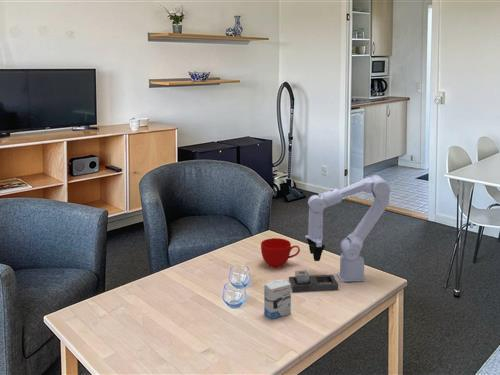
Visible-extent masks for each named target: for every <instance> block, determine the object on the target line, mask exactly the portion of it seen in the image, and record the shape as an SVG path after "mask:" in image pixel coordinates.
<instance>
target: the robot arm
mask: <svg viewBox="0 0 500 375" xmlns="http://www.w3.org/2000/svg"><path fill="white" fill-rule="evenodd" d="M361 192H363V193H367V194H372V197H373V198H372V199H373V202H372V204H371V206H370V207H369V208H368V210H367V211H366V213H365V214H364V216H363V217H362V218H361V219H360V222H359V223H358V224H357V226H356V227H355V229H354V231H352V232H351V233H349V234H348V235H347V237H345V238H344V239H342V240H341V241H340V243H339V248H340V250H341V251H342V252H341V254H340V258H339V259H340V260H339V272H336V275H337V277H338V278H339V280H340V281H341V283H345V282H364V281H365V260H364V257H363V256H360V254H361V253H360V252H361V250H362V248H363V247H364V246H363V244H364V240H365V239H367V236H368V235H369V233H370V232H371V231H372V229H373V228H374V227H375V225H376V223H378V221H379V219H380V218H381V216H382V215H383V213H384V212H385V210H386V209H387V208H388V207H389V204H390V193H391V192H392V191H391V188H390V185H389V183H388V182H387V181H386V180H385V179H383V177H382V176H381V175H378V174H372V175H371V176H367V177H365V178H363V179H361V180H359V181H357V182H354V183H352V184H350V185H348V186H346V187H344V188H341V189H338V188H333V187H331V188H329V190H327V191H325V192H322V193H320V192H319V193H317V194H318V195H317V194H314V195H311V196H310V197H309V198H308V201H307V205H308V207H309V208H308V225H307V226H308V228H307V229H308V232H307V233H308V234H307V235H304V237H305V239H306V241H307V244H308V247H309V248H308V249H309V253H310V254H311V255H313V260H314V262H320V261H321V259H322V254H323V251H324V249H325V248H326V246H325V244H322V242H323V238H324V235H323V232H324V229H323V228H324V226H323V225H324V214H323V213H324V210H325V208H329V207H331V206H333V205H336V204H339V203H341V202H342V201H343V199H344V198H346V197H349V196H352V195H355V194H359V193H361Z"/></svg>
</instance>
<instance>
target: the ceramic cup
mask: <svg viewBox="0 0 500 375" xmlns="http://www.w3.org/2000/svg"><path fill="white" fill-rule="evenodd" d="M294 248H297V252H296V253H294V254H291V251H292V250H293V249H294ZM300 248H301V247H299V245H295V244H294V245H292V243H291V242H290V241H289V239H286V238H278V237H276V238H275V237H272V238H267V239H264V240H262V242H260V249H261V250H260V251H261V256H262V258H263V261H264V262H265V263H266V265H268V267H270V268H272V269H273V268H275V269H278V268H282V267H283V266H284V265H285V264H286V263H287V262H288V260H289V259H291V258H294V257H296V256H298V254H299V253H300V251H301V249H300Z"/></svg>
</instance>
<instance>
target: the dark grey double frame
mask: <svg viewBox="0 0 500 375" xmlns="http://www.w3.org/2000/svg"><path fill="white" fill-rule="evenodd" d="M288 282H289V283H290V284H291V293H308V292H328V291H339V282H338V281H337V280H336V277H335V276H334V274H321V275H320V274H319V275H309V284H304V285H296V284H295V276H288Z"/></svg>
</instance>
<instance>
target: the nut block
mask: <svg viewBox="0 0 500 375" xmlns="http://www.w3.org/2000/svg"><path fill="white" fill-rule="evenodd" d="M309 276H310V274H309V273H308V271H307V270H306V269H303V270H302V269H301V270H295V272H294V277H295V284H296V285H304V284H309Z"/></svg>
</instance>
